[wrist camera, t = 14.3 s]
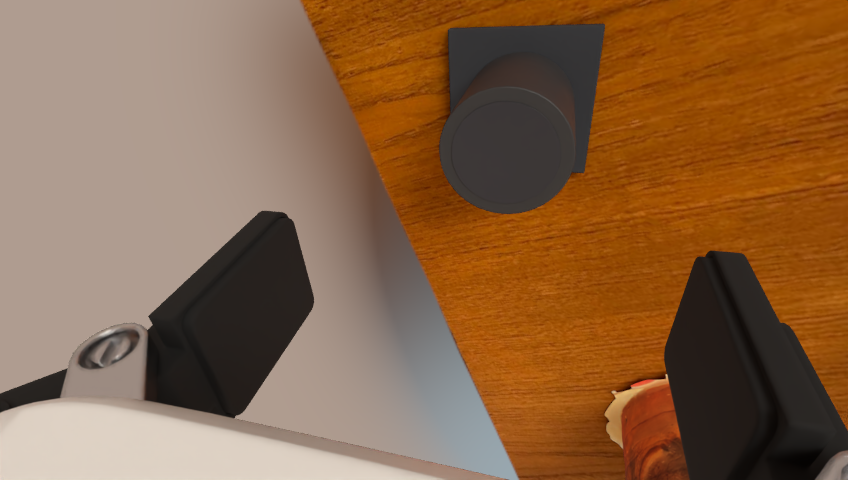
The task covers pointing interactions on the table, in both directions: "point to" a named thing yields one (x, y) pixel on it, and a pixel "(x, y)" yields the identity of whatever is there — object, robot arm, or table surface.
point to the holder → (511, 135)
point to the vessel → (647, 432)
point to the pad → (559, 43)
